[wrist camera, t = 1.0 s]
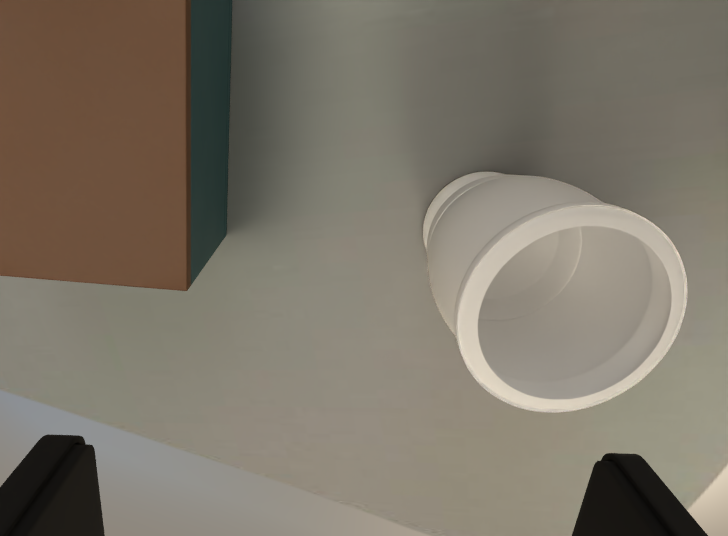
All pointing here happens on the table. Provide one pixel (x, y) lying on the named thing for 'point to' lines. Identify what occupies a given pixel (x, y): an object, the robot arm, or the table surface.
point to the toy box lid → (96, 141)
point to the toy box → (209, 126)
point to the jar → (551, 289)
